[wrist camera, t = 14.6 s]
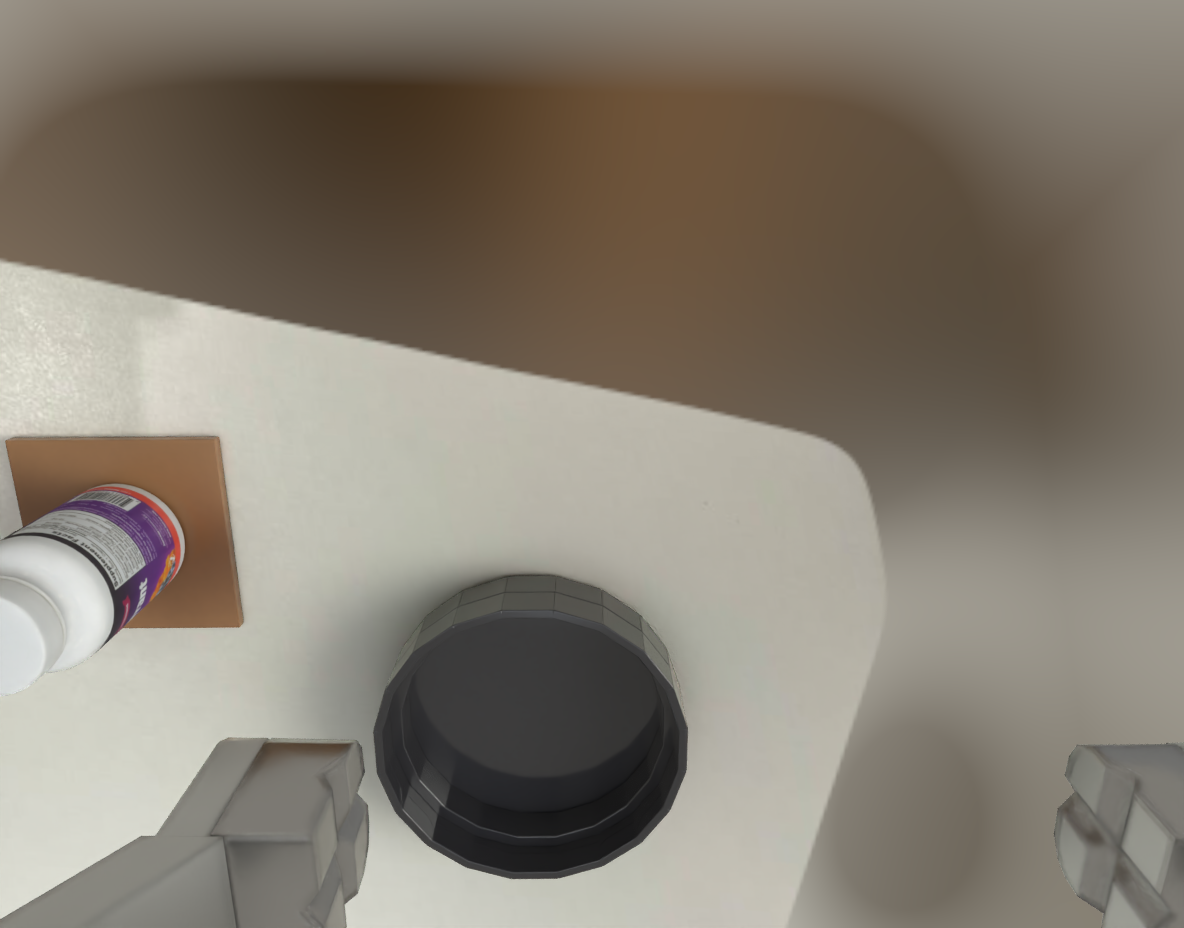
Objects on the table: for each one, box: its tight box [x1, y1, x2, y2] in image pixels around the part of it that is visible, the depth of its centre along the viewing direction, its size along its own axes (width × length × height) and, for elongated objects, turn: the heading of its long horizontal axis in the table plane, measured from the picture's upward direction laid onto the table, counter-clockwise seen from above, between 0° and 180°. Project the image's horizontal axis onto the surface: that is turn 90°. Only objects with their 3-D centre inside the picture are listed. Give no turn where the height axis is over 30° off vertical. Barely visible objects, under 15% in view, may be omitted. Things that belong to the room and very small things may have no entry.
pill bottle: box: [0, 484, 185, 696], centre depth 34 cm, size 5×5×10 cm
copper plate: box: [5, 437, 243, 628], centre depth 39 cm, size 9×9×1 cm
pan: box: [373, 576, 688, 879], centre depth 40 cm, size 14×14×4 cm
